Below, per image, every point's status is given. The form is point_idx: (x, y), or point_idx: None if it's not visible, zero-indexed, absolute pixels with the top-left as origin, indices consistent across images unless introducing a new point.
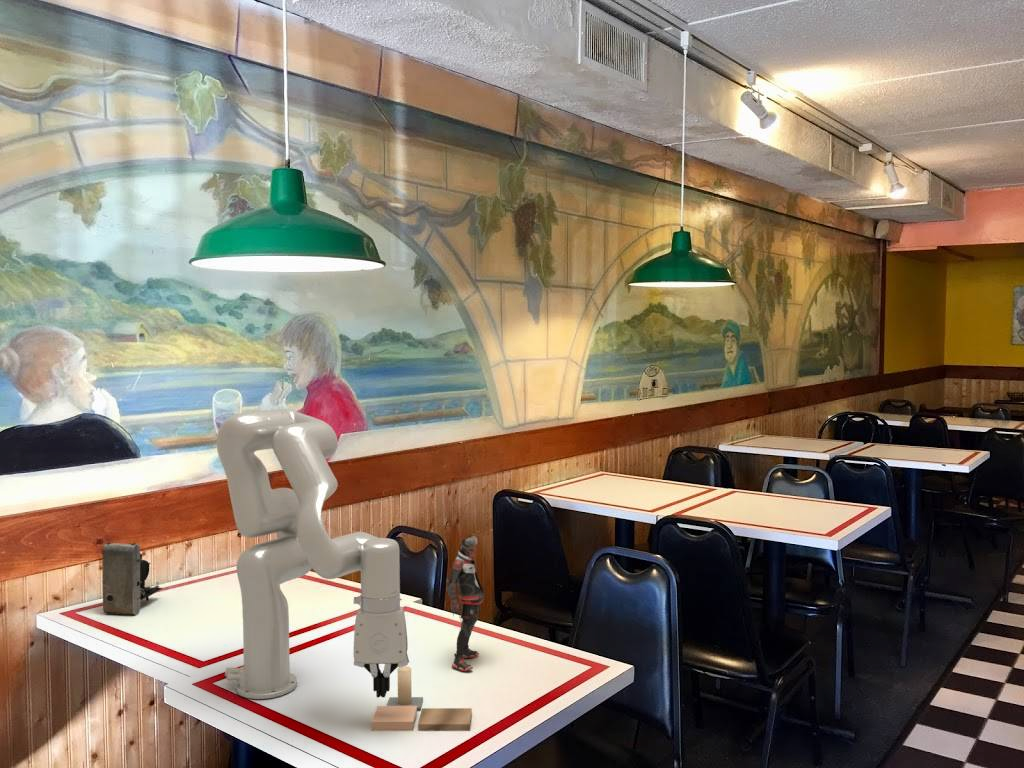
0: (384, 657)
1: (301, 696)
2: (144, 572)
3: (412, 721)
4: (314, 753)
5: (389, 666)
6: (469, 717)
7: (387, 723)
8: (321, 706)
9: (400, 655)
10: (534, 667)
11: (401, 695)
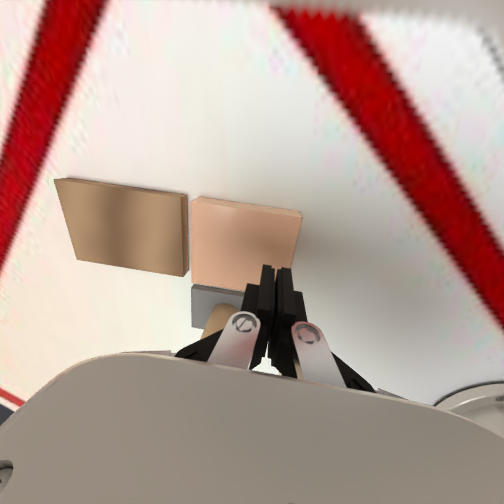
0: (227, 429)
1: (431, 377)
2: None
3: (191, 202)
4: (490, 81)
5: (217, 357)
6: (66, 216)
7: (258, 210)
8: (399, 336)
9: (39, 422)
10: (41, 381)
11: (226, 320)
